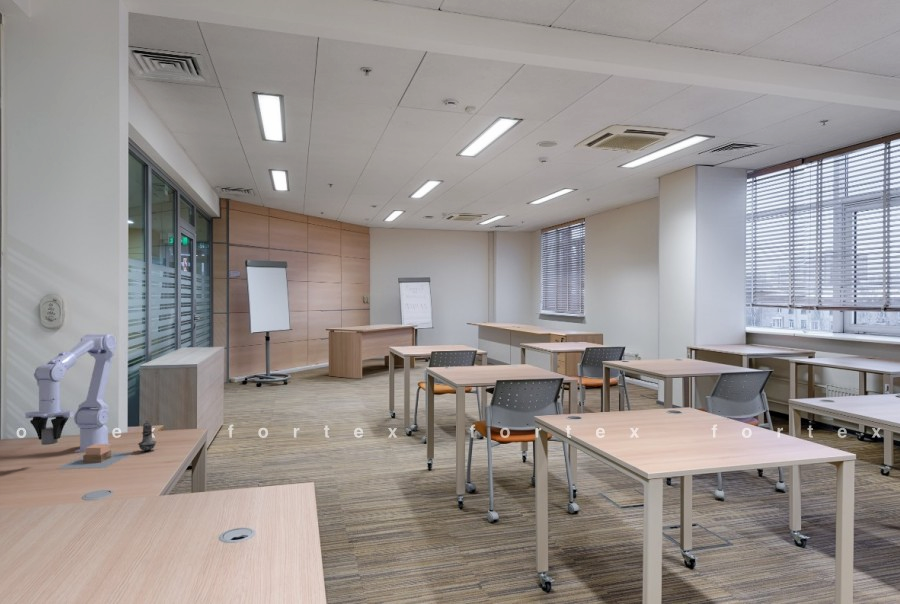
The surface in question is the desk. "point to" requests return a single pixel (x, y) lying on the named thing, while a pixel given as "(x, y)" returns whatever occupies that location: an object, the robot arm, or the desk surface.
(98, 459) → the tower base
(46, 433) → the dark grey cylinder
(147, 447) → the salt shaker
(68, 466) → the mat
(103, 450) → the tower middle
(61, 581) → the desk surface
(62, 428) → the robot arm
